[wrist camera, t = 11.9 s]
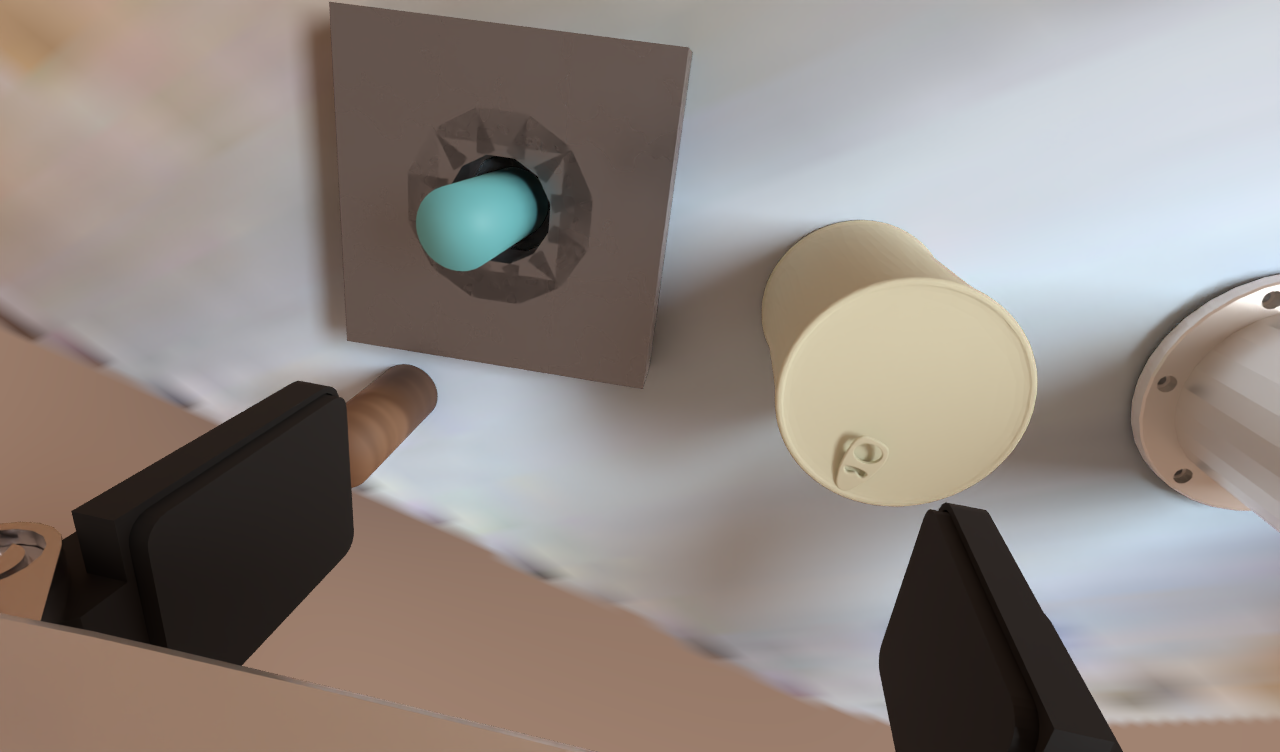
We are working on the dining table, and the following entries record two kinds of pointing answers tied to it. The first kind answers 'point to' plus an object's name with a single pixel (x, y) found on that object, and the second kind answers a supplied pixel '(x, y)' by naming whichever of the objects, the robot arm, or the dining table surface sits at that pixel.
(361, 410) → the walnut peg
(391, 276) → the socket plate
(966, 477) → the can
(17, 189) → the dining table surface
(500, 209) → the teal peg
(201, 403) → the dining table surface
